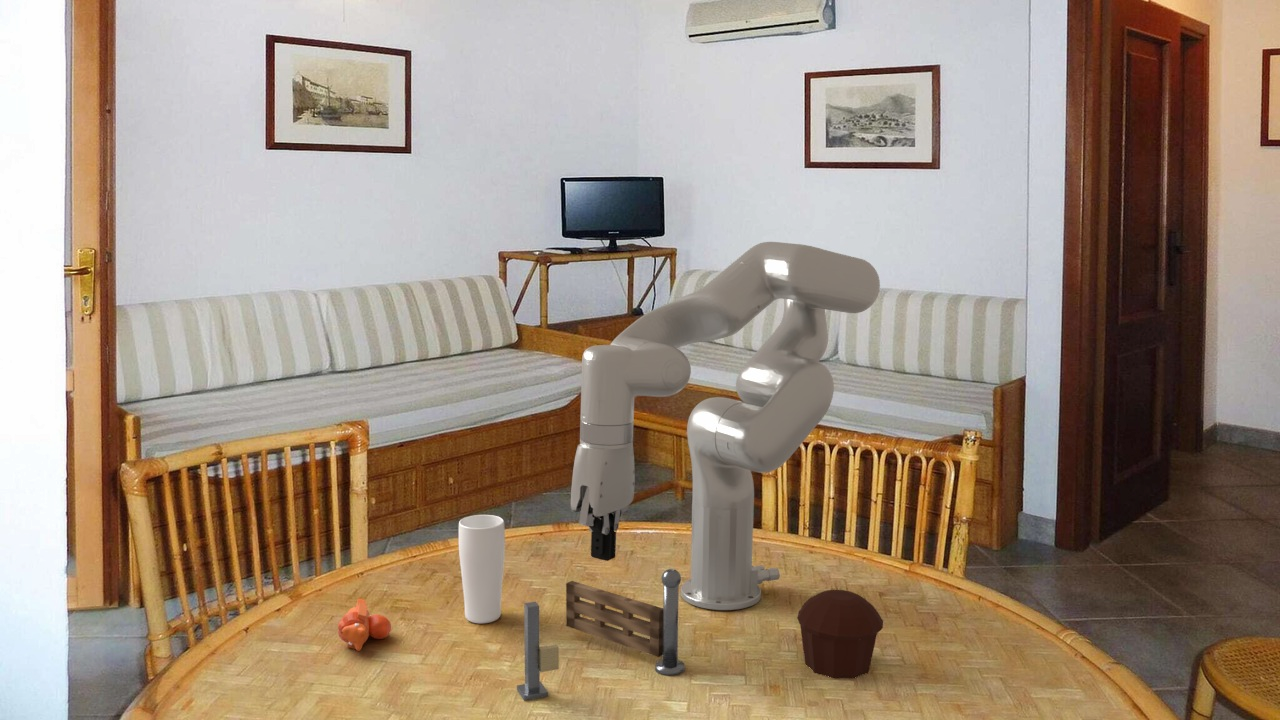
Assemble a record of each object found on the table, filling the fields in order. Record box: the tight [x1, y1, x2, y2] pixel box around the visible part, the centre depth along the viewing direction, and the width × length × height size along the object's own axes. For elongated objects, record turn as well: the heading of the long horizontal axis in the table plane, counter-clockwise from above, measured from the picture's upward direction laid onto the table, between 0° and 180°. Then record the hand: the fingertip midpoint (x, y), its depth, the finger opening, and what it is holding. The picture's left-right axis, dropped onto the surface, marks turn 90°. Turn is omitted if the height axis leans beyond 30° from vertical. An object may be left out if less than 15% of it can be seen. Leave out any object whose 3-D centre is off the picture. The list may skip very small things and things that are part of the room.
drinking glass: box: [457, 514, 506, 624], centre depth 170 cm, size 7×7×15 cm
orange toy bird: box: [337, 598, 392, 652], centre depth 163 cm, size 5×8×12 cm
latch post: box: [516, 601, 560, 701], centre depth 146 cm, size 5×3×12 cm
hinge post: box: [654, 568, 686, 677], centre depth 153 cm, size 4×4×14 cm
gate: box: [565, 580, 663, 658], centre depth 160 cm, size 16×1×6 cm, turn 53°
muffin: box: [796, 589, 884, 679], centre depth 156 cm, size 12×11×10 cm
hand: (603, 557), depth 165 cm, fingers closed
